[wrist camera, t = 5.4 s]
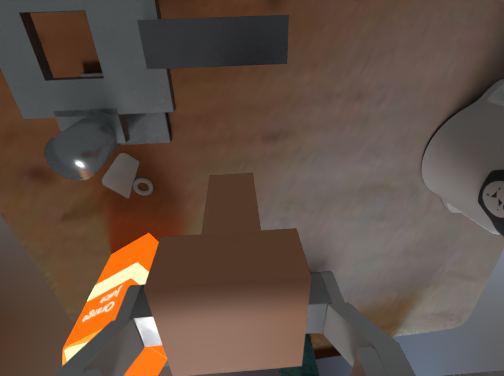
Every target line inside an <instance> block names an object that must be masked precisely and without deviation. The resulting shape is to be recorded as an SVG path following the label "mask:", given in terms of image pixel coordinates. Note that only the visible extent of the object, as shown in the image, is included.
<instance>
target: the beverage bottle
mask: <svg viewBox="0 0 504 376" xmlns="http://www.w3.org/2000/svg"><path fill="white" fill-rule="evenodd" d="M310 338H311V336H309V333H308V334H305V342H304V351H303V360H302V366H296V367H284V368H280V373H281V376H319V373H318V369H317V365H316V361H315V356H314V352H313V349H314V348H312V345H313V344H312V343H311V341H312V340H311V339H310Z"/></svg>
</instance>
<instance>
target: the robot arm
mask: <svg viewBox="0 0 504 376" xmlns="http://www.w3.org/2000/svg"><path fill="white" fill-rule="evenodd" d="M422 177H423V180H424V182H425V184H426V186H427V187H428V188H429V189H430V190H431V191H432V192H433V193H435V194H437V195H438V196H439V197H441V198H442V201H443V204H444V206H445V207H446V209H448V210H449V211H451V212H453V213H458V212H461V213H463V214H464V215H466V216H467V217H469V218H470V219H472V220H473V221H475V222H476V223H478V224H479V225H481V226H482V227H484V228H485V229H487V230H488V231H490V232H492V233H494V234H501V235H503V236H504V79H501V80H499V81H497V82H496V83H494V84H493V85H492V86H491V87H490V88H489V89H488V90H487V91H486V92H485V93H484V94H483V95H482V96H481V97H480V98H479V99H478V100H477V101H476V102H474V103H473V104H471V105H470V106H468V107H466V108H465V109H463V110H461V111H460V112H458V113H457V114H455V115H454V116H453V117H452V118H450V119H449V120H448V121H447V122H446V123H445V124H444V125H443V126H442V127H441V128H440V129H439V130H438V131H437V133H436V134H435V135H434V137H433V138H432V140H431V141H430V143H429V145H428V147H427V149H426V151H425V154H424V157H423V161H422ZM310 273H311V286H310V295H309V305H308V314H307V323H306V332H305V334H308V333H323V334H324V335H325V336H326V338H327V339H328V340H329V341H330V342H331V343H332V344H333V346H334V347H335V348H336V349H337V350H338V351H339V352H340V354H341V355H342V356H343V357H344V358H345V359H346V360H347V361H348V363H350V365H351V366H352V367H353V368H352V372H351V375H350V376H415V374H414V372H413V370H412V368H411V366H410V364H409V362H408V360H407V358H406V356H405V354H404V352H403V351H402V349H401V347H400V345H399V343H398V342H396V341H395V340H394V339H393V338H392V337H390V336H389V335H388V334H387V333H385V332H384V331H383V330H382V329H380V328H379V327H378V326H377V325H375V324H374V323H373V322H372V321H371V320H369V319H368V318H367V317H366V316H364V315H363V314H362V313H361V312H359V311H358V310H357V309H356V308H354V307H353V306H352V305H351V304H349V303H345V302H344V299H343V297H342V294H341V292H340V290H339V287H338V285H337V282H336V280H335V278H334V275H333V273H332V272H331V271H323V272H310ZM144 286H145V284H142V285H130V286H129V287H128V289H127V291H126V294H125V296H124V299H123V301H122V304H121V306H120V309H119V311H118V314H117V317H116V319H115V320H113V321H110V322H109V323H108V324H107V325H106V326H105V327H104V328H103V329H102V330H101V331H100V332H99V333H97V334H96V335H95V336H94V337H93V338H92V339H91V340H90V341H89V342H88V343H87V344H86V345H84V346H83V347H82V348H81V349H80V350H79V351H78V352H77V353H76V354H75V355H74V356H73V357H71V358H70V359H69V360H68V361H67V362H66V363H65V364H64V365H63V366H62V367H61V368H60V369H59V370H58V371H56V373H55V375H54V376H124V374H125V373H126V372H127V370H128V369H129V368H130V367H131V365H132V364H133V363H134V361H135V360H136V359H137V357H138V356H139V355H140V353H141V352H142V351H143V350H144V347H150V346H159V345H162V342H161V339H160V336H159V333H158V330H157V327H156V324H155V321H154V319H153V316H152V313H151V310H150V307H149V304H148V301H147V298H146V295H145V292H144ZM447 376H504V370H503V371H492V372H480V373H469V374H457V375H447Z"/></svg>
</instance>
